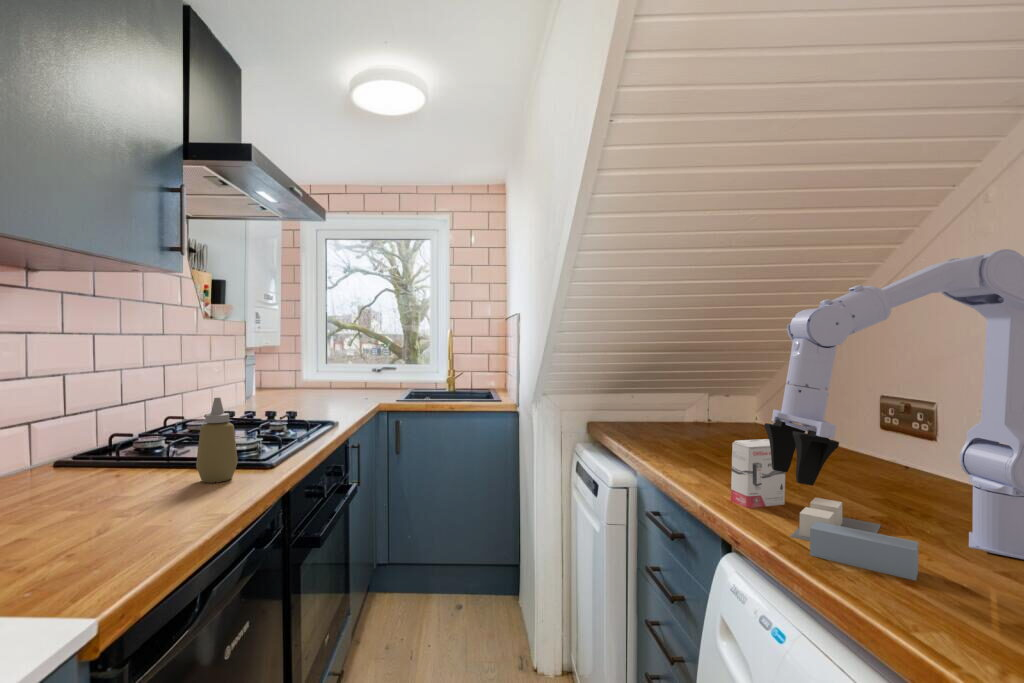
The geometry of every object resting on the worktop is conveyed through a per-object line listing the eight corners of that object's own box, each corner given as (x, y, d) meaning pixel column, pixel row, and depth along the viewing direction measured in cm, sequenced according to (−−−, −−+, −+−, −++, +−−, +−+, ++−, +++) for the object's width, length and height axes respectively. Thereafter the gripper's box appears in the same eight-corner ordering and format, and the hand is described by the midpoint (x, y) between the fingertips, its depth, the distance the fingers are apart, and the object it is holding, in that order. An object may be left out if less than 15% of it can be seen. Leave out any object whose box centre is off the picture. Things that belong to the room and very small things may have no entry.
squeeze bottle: (201, 476, 118) (201, 396, 118) (241, 474, 120) (241, 395, 120) (191, 486, 110) (191, 400, 110) (234, 483, 113) (234, 399, 113)
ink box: (748, 511, 96) (748, 445, 96) (729, 502, 100) (730, 440, 100) (787, 506, 98) (787, 443, 98) (767, 499, 103) (767, 438, 103)
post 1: (842, 523, 88) (842, 502, 88) (837, 529, 85) (837, 507, 85) (815, 517, 91) (815, 497, 91) (809, 523, 88) (810, 502, 88)
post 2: (834, 534, 83) (834, 512, 83) (828, 541, 80) (828, 518, 80) (805, 528, 86) (805, 507, 86) (799, 535, 83) (799, 513, 83)
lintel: (815, 551, 78) (815, 521, 78) (918, 575, 70) (918, 541, 70) (810, 559, 75) (810, 528, 75) (916, 585, 67) (916, 550, 67)
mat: (881, 527, 88) (881, 524, 88) (866, 556, 75) (866, 553, 75) (813, 513, 94) (813, 511, 94) (789, 538, 82) (789, 536, 82)
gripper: (759, 379, 86) (745, 461, 86) (804, 387, 72) (788, 485, 72) (802, 386, 86) (788, 469, 86) (857, 395, 71) (840, 494, 71)
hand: (791, 477), depth 79 cm, fingers open, 7 cm apart
